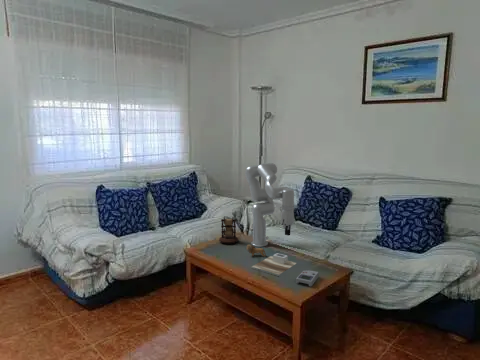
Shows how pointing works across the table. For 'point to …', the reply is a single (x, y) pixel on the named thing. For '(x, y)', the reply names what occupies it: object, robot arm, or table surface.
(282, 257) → the block
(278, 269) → the plywood board
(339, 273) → the table surface
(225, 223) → the brown upright piece
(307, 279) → the handheld gaming device
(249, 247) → the lion figurine
